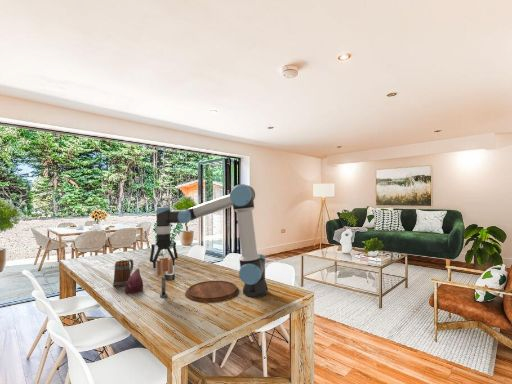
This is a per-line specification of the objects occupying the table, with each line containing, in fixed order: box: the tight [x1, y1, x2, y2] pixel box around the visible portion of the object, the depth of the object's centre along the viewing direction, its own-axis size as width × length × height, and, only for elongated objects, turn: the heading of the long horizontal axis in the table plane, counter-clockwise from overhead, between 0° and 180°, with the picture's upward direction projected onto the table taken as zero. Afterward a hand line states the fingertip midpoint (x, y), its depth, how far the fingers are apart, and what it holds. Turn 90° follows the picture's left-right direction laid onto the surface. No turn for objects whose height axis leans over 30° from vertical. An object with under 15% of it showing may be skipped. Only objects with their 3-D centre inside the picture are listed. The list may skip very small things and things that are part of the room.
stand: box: [159, 276, 168, 298], centre depth 155 cm, size 4×4×11 cm
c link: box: [156, 256, 174, 277], centre depth 155 cm, size 8×8×8 cm
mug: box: [112, 258, 134, 288], centre depth 179 cm, size 16×11×15 cm
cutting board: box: [184, 280, 240, 304], centre depth 162 cm, size 32×32×3 cm
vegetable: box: [124, 267, 144, 295], centre depth 165 cm, size 10×10×15 cm
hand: (164, 272), depth 155 cm, fingers closed on c link, 8 cm apart
